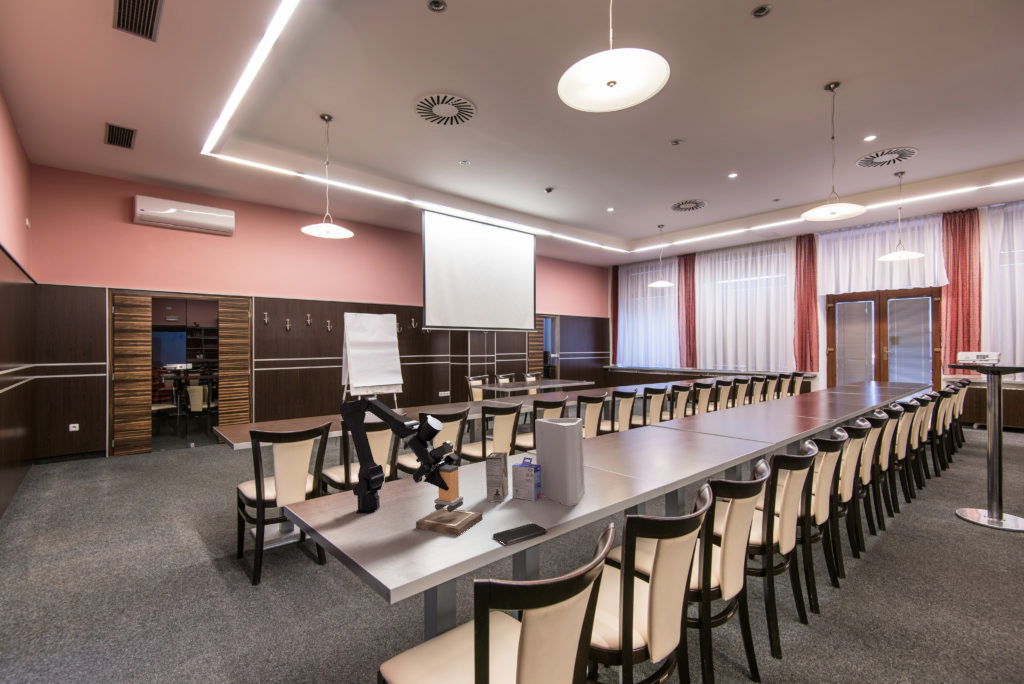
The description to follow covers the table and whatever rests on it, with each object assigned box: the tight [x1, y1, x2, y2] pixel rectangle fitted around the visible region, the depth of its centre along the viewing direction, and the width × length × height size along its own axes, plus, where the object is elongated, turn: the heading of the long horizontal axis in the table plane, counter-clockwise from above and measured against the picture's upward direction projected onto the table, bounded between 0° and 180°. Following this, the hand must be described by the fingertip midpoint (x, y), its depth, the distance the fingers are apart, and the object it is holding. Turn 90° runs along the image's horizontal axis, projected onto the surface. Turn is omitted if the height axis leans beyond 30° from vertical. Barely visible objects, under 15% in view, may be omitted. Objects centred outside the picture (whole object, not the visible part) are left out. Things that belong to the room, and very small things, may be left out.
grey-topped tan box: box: [434, 465, 464, 512], centre depth 145 cm, size 7×6×13 cm
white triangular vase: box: [534, 417, 586, 507], centre depth 169 cm, size 19×15×28 cm
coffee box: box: [485, 451, 509, 503], centre depth 169 cm, size 9×6×16 cm
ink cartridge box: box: [511, 456, 542, 502], centre depth 168 cm, size 10×6×14 cm, turn 58°
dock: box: [415, 507, 483, 536], centre depth 144 cm, size 16×14×2 cm
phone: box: [492, 522, 548, 546], centre depth 134 cm, size 8×1×15 cm
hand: (452, 487), depth 144 cm, fingers closed on grey-topped tan box, 5 cm apart
